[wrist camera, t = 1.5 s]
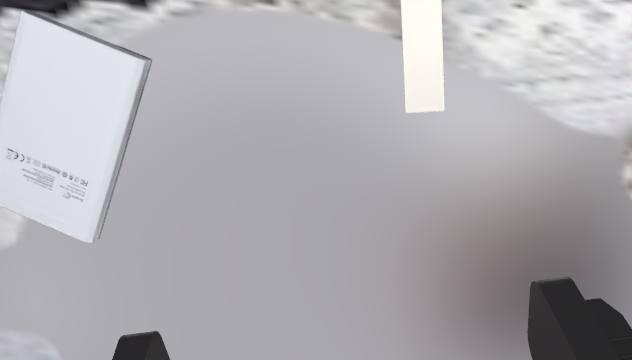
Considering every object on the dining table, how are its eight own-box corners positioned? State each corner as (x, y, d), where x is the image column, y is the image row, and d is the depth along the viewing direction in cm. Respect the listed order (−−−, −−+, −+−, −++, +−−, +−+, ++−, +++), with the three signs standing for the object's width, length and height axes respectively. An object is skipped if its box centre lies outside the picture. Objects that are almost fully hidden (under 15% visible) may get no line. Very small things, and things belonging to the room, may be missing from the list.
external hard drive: (155, 60, 37) (102, 238, 40) (35, 10, 37) (-9, 190, 41) (144, 60, 35) (89, 245, 38) (18, 9, 36) (-26, 196, 39)
